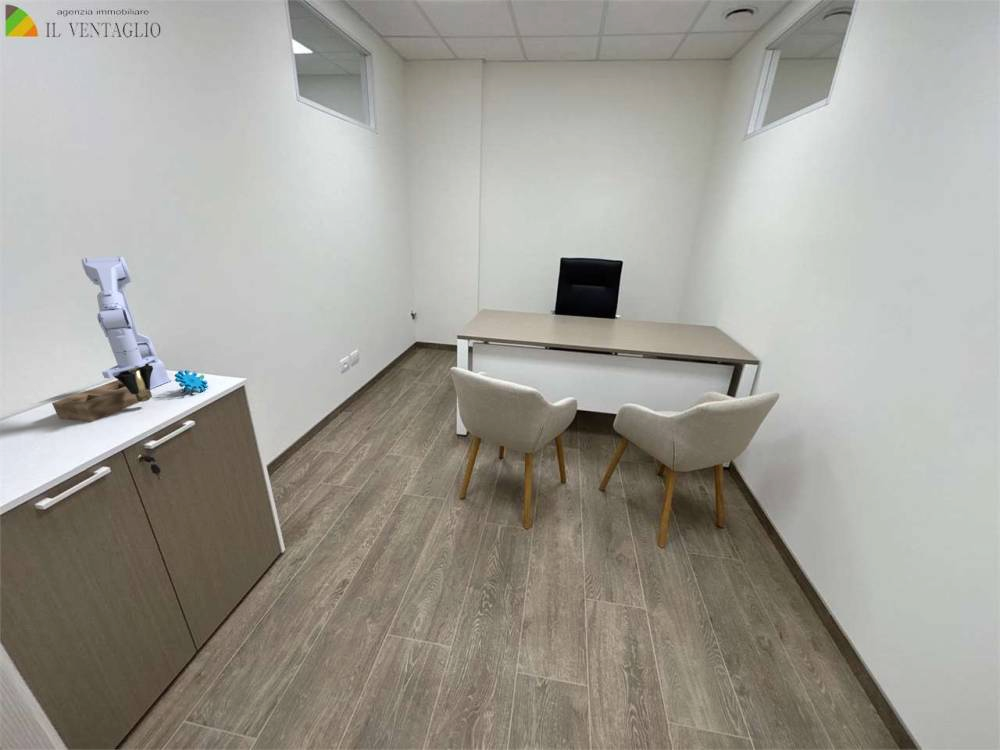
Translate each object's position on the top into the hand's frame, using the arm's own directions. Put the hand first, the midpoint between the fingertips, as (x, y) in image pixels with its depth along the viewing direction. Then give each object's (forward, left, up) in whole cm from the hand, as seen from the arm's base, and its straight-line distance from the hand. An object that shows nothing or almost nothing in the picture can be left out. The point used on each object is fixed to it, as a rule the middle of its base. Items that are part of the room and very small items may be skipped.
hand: (140, 391), depth 122 cm
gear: (-14, +4, -6) cm, 16 cm away
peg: (0, 0, -3) cm, 3 cm away
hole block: (+2, -12, -6) cm, 13 cm away
